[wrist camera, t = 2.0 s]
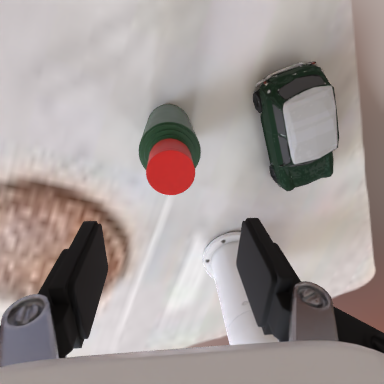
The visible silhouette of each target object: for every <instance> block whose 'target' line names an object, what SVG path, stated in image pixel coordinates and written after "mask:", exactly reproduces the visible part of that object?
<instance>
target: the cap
mask: <svg viewBox="0 0 384 384" xmlns="http://www.w3.org/2000/svg"><path fill="white" fill-rule="evenodd" d="M146 175H147V180H148V182H149V184H150V185H151V186H152V187H153V188H154V189H155V190H156V191H158V192H159V193H162V194H165V195H176V194H180V193H182V192H184V191H185V190H187V189H188V188H189V187H190V186H191V184H192V183H193V181H194V177H195V167H194V164H193V160H192V157H191V153H190V151H189V149H188V147H187V146H186V145H185V144H184V143H183V142H181V141H179V140H176V139H164V140H161V141H159V142H158V143H156V144H155V145H154V146H153V148H152V149H151V151H150V154H149V159H148V164H147V169H146Z"/></svg>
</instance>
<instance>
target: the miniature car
mask: <svg viewBox="0 0 384 384" xmlns="http://www.w3.org/2000/svg"><path fill="white" fill-rule="evenodd" d="M309 63H311V64H309ZM315 63H316V62H300V63H298V64H295V65H292V66H289V67H286V68H283V69H281V70H279V71H277V72H274V73H272V74H270V75H268V76H267V77H266V78H264V79H263V80H261V81H259V82H258V83H257V84H256V87H258V85H259V84H260V83H262V82H263V81H265V80H266V81H265V82H264V83H263V84H262V85H261V86H260V89H259V90H258V91H256V92H254V94H253V102H254V105H255V108H256V110H257V111H258V112H259V113H261V112H262V114H261V123H262V127H263V132H264V136H265V141H266V146H267V150H268V155H269V159H270V164H271V163H272V164H273V165H271V166H269V167H270V174H271V177H272V178H273V180H274V181H275V182H276V183H277V184H278V186H280V187H282V188H283V189H285V190H286V191H291V190H293V189H294V188H295V187H299V186H303V185H306V184H309V183H311V182H313V181H315V180H318V179H320V178H326V177H330V176H331V175H332V174H333V153H332V151H333V150H335V149H336V148H338V141H339V131H338V120H337V109H336V101H335V94H334V87H332V85H331V84H330V83H329V82H328V80H327V78H326V76H325V75H324V73H323V70H322V69H321V68H320V67H318V66H316V65H317V64H315ZM303 64H306V65H303ZM300 65H301V66H300ZM297 66H299V67H297ZM294 67H296V68H294ZM292 68H293V69H292ZM289 69H290V70H289ZM286 70H288V71H286ZM283 71H285V72H283ZM281 72H282V73H281ZM278 73H279V74H278ZM276 74H277V75H276ZM274 75H276V76H274ZM272 76H274V77H272ZM270 77H272V78H270ZM268 78H269V79H268ZM267 79H268V80H267ZM337 135H338V137H337Z"/></svg>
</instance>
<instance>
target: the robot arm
mask: <svg viewBox="0 0 384 384" xmlns="http://www.w3.org/2000/svg"><path fill="white" fill-rule="evenodd" d="M203 264H204V268H205V270H206V272H207V273H208V274H209V275H210V276H211V277H212V278H214V279H215V283H216V287H217V291H218V296H219V300H220V305H221V309H222V313H223V318H224V322H225V326H226V331H227V335H228V339H229V343H230V345H225V346H211V347H197V348H183V349H170V350H156V351H143V352H130V353H117V354H105V355H92V356H80V357H70V358H67V354H68V353H70V352H71V351H72V350H73V348H82V344H83V341H84V339H87V338H88V337H89V335H90V331H91V328H92V324H93V321H94V317H95V314H96V310H97V307H98V304H99V300H100V297H101V293H102V290H103V286H104V283H105V279H106V276H107V272H108V263H107V257H106V251H105V244H104V238H103V232H102V226H101V224H98V223H97V221H84V222H83V223H82V225H81V227H80V229H79V231H78V233H77V235H76V236H75V238H74V240H73V242H72V244H71V246H70V247H69V249H64V250H63V251H62V252H61V254H60V256H59V258H58V259H57V261H56V263H55V265H54V266H53V268H52V270H51V272H50V273H49V275H48V277H47V279H46V280H45V282H44V284H43V286H42V287H41V289H40V291H39V293H38V294H34V295H29V296H26V297H23V298H21V299H19V300H17V301H16V302H15V303H13V304H12V305H11V306H10V307H9V308H8V309H7V310H6V311H5V313H4V314H3V316H2V320H1V325H0V384H384V333H383V332H381V331H379V330H377V329H375V328H373V327H371V326H369V325H367V324H366V323H364V322H361V321H360V320H358V319H356V318H354V317H352V316H351V315H349V314H347V313H345V312H343V311H341V310H339V309H337V308H335V307H333V302H332V299H331V297H330V295H329V294H328V292H327V291H325V290H324V289H323V288H322V287H320V286H318V285H317V284H314V283H311V282H306V281H305V282H301V281H300V279H299V278H298V276H297V275H296V273H295V271H294V270H293V268H292V267H291V265H290V263H289V262H288V260H287V259H286V257H285V256H284V254H283V252H282V251H281V249H280V248H279V246H278V245H277V244H276V243H273V241H272V240H271V238H270V236H269V235H268V233H267V231H266V230H265V228H264V227H263V225H262V223H261V222H260V220H259V219H258V218H247V219H246V221H243V222H242V227H241V232H231V233H226V234H224V235H221V236H219V237H217V238H216V239H214V240H213V241H212V242H211V243H210V244H209V245H208V246H207V248H206V249H205V252H204V254H203Z"/></svg>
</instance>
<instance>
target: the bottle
mask: <svg viewBox="0 0 384 384" xmlns="http://www.w3.org/2000/svg"><path fill="white" fill-rule="evenodd" d="M164 139H176V140H179V141H181V142H183V143H184V144H185V145H186V146H187V147H188V149H189V151H190V153H191V157H192V160H193V164H194V167H195V168H196V166H197V165H198V162H199V159H200V153H201V152H200V144H199V141H198V139H197V137H196V134H195V132H194V130H193V127H192V125H191V123H190V121H189V118H188V116H187V114H186V113H185V112H184V111H183V110H182V109H181V108H179V107H178V106H175V105H171V104H166V105H162V106H159V107H157V108H156V109H155V110H154V111H153V112H152V113H151V115H150V117H149V119H148V122H147V125H146V127H145V130H144V133H143V136H142V139H141V142H140V145H139V157H140V161H141V163H142V165H143V167H144V168H145V169H147V164H148V159H149V154H150V151H151V149H152V148H153V146H154V145H155V144H156V143H158V142H159V141H161V140H164Z"/></svg>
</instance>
